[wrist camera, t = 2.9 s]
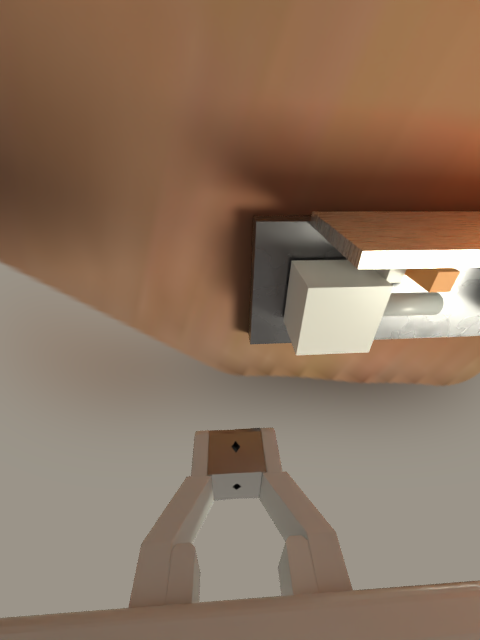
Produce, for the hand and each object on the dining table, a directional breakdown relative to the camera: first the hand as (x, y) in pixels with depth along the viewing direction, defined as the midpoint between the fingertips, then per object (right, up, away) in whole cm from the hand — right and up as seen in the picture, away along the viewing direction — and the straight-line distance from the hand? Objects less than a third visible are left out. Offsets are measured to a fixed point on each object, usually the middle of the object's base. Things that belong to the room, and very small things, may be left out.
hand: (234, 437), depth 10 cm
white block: (+9, +7, +9) cm, 15 cm away
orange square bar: (+11, +9, +8) cm, 16 cm away
